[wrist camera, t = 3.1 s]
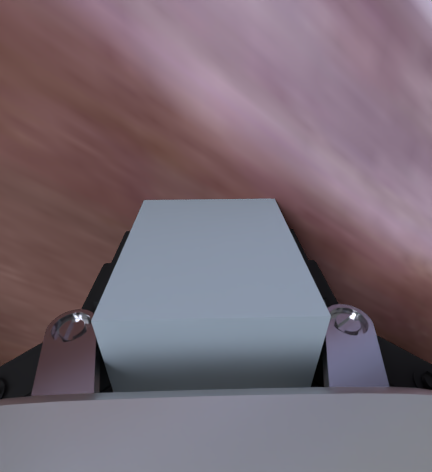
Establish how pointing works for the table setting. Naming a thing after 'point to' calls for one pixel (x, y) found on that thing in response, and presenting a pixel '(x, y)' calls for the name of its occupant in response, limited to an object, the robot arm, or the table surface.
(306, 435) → the robot arm
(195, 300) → the grey block
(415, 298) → the table surface
